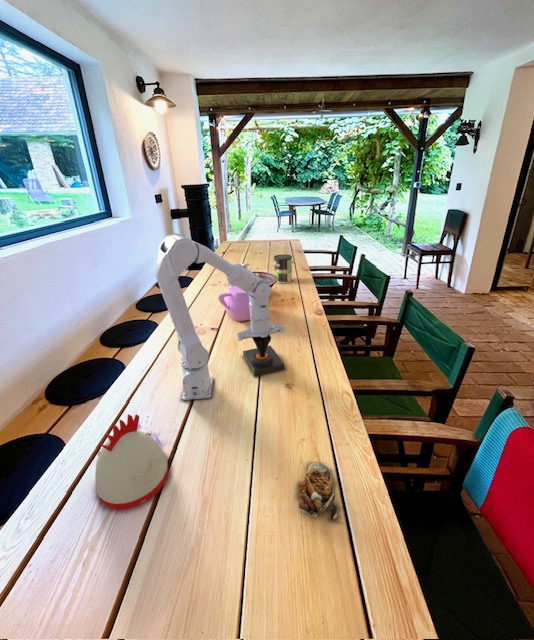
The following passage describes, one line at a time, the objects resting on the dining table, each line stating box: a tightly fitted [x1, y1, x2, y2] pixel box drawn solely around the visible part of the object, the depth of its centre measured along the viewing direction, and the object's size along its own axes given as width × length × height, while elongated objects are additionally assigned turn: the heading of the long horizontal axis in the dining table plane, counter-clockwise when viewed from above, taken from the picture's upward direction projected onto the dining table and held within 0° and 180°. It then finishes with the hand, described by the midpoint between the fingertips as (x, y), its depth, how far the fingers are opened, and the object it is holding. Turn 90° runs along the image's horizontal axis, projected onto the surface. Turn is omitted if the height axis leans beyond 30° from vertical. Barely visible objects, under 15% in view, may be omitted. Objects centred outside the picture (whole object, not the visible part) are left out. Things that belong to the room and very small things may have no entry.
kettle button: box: [256, 353, 268, 360], centre depth 103 cm, size 4×4×2 cm
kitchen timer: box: [94, 414, 170, 511], centre depth 64 cm, size 14×14×15 cm
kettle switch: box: [242, 345, 286, 377], centre depth 105 cm, size 13×10×4 cm
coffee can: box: [273, 254, 293, 284], centre depth 183 cm, size 10×10×14 cm
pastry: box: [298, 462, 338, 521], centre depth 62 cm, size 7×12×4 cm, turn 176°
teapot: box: [217, 285, 251, 322], centre depth 136 cm, size 23×21×15 cm
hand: (261, 355), depth 103 cm, fingers closed, pressing on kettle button
